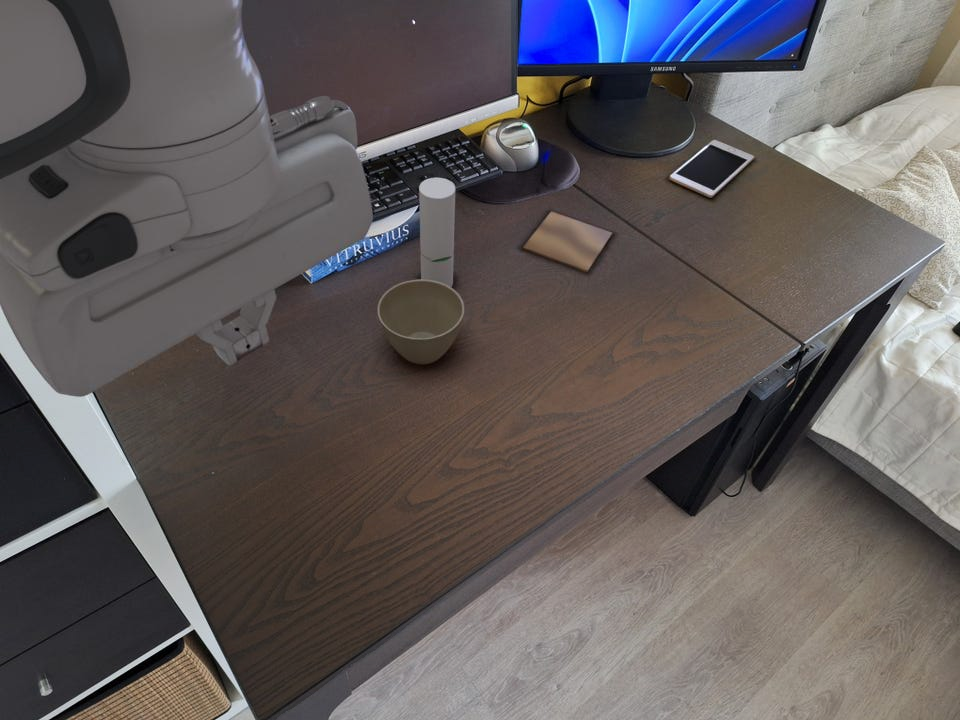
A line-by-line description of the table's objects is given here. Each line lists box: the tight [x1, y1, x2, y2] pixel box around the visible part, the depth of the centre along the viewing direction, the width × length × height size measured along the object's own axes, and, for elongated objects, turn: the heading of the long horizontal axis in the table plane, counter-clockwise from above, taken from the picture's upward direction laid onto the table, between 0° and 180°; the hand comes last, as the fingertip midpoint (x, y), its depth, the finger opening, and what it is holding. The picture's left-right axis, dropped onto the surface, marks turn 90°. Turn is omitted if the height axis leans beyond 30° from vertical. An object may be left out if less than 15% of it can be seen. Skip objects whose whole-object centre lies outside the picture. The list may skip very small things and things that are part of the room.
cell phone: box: [669, 139, 755, 199], centre depth 112 cm, size 8×16×1 cm, turn 140°
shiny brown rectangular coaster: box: [522, 211, 613, 274], centre depth 98 cm, size 10×10×1 cm
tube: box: [418, 177, 456, 288], centre depth 85 cm, size 4×4×15 cm
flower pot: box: [376, 278, 465, 365], centre depth 80 cm, size 10×10×7 cm
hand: (243, 348), depth 42 cm, fingers closed
